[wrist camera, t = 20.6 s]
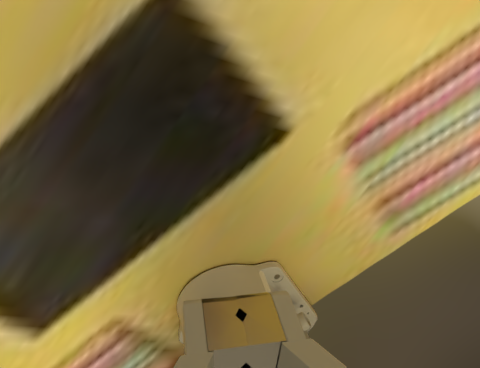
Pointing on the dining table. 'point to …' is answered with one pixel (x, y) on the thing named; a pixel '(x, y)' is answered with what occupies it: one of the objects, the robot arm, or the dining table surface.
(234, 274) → the robot arm
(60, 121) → the dining table surface
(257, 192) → the dining table surface
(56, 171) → the dining table surface
